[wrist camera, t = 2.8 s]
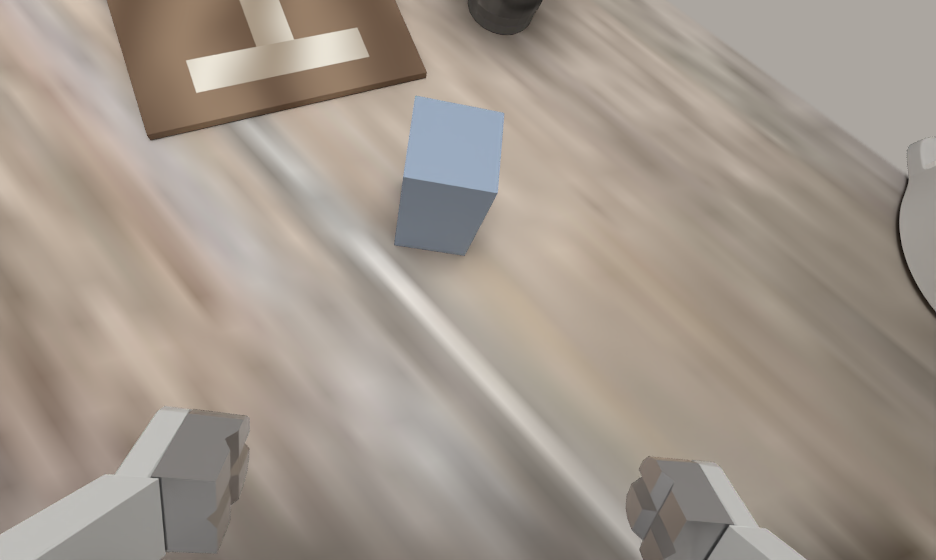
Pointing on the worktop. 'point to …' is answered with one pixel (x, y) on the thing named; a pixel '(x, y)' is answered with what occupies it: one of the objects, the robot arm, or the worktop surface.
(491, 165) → the slate block
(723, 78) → the worktop surface
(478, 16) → the beverage cup
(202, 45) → the board
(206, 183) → the worktop surface
